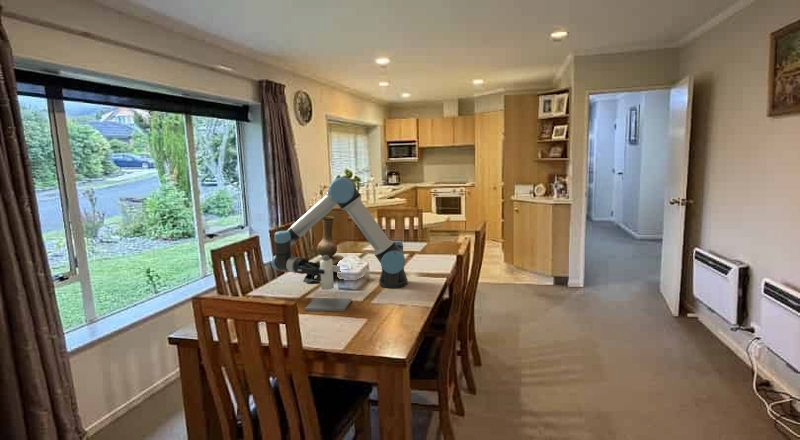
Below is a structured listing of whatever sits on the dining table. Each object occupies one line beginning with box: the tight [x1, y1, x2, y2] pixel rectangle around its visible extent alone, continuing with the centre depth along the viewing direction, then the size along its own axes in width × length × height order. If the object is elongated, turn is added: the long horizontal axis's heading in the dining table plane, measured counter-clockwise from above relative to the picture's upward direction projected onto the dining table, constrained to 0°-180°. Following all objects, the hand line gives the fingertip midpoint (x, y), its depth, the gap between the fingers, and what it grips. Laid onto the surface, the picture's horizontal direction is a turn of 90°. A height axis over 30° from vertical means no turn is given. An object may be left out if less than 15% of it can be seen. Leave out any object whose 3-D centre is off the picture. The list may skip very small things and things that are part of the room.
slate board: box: [304, 297, 353, 312], centre depth 195 cm, size 18×14×1 cm
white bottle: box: [320, 255, 335, 291], centre depth 193 cm, size 6×6×15 cm
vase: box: [302, 215, 345, 285], centre depth 241 cm, size 24×22×35 cm
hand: (335, 270), depth 190 cm, fingers closed on white bottle, 6 cm apart
